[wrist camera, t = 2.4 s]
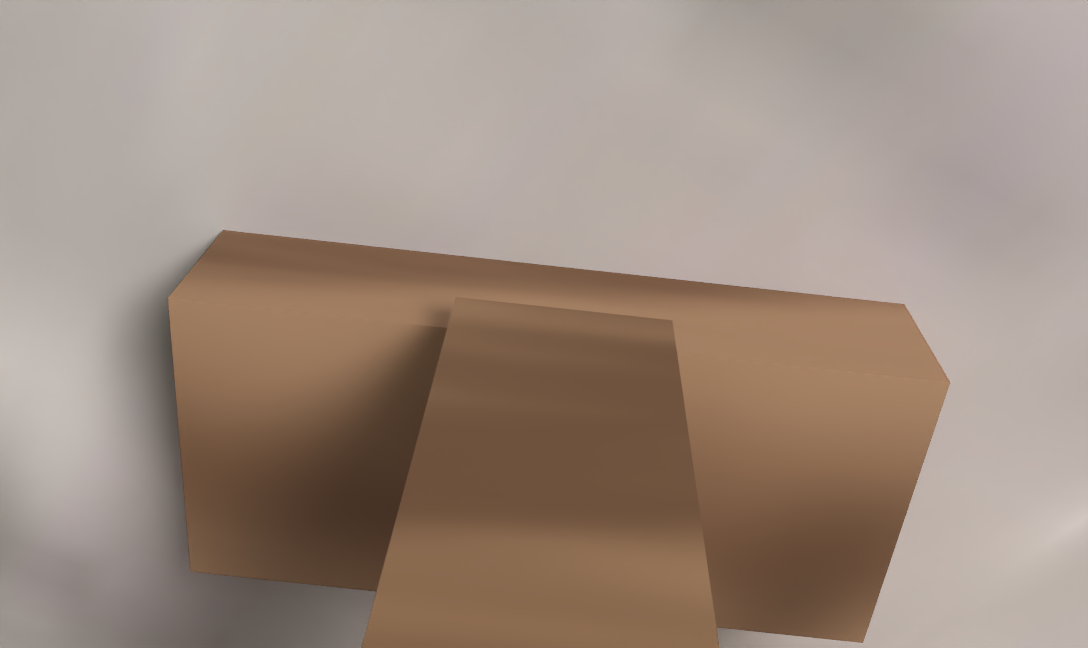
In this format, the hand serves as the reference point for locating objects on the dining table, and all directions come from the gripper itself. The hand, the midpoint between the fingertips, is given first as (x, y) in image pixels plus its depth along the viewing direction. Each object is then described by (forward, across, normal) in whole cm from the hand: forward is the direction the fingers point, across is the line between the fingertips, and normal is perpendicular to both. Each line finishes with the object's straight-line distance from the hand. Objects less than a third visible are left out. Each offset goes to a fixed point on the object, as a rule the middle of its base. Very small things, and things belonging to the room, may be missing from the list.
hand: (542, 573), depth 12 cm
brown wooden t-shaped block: (+6, 0, -2) cm, 6 cm away
